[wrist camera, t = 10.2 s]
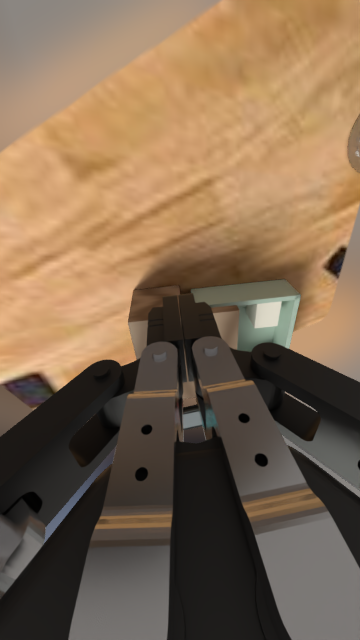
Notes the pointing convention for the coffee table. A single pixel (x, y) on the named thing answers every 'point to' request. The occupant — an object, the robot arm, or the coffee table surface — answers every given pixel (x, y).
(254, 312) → the ceramic block
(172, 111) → the coffee table surface
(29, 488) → the robot arm
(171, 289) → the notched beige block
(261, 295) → the box
